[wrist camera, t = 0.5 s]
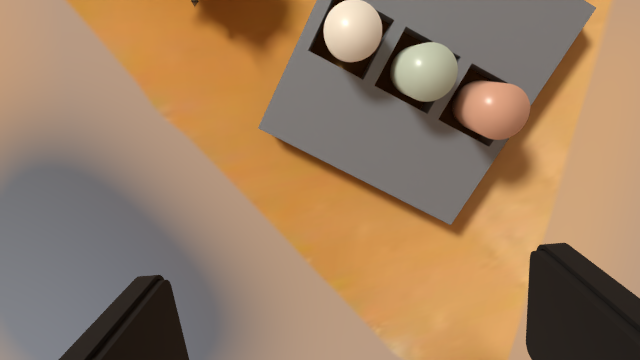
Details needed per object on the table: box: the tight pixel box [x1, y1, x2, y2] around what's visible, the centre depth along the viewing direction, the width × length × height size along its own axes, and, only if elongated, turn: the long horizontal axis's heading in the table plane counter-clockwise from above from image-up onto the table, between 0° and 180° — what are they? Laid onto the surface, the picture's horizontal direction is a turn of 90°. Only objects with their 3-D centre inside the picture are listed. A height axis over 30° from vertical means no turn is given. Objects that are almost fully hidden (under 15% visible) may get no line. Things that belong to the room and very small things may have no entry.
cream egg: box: [324, 0, 382, 62], centre depth 29 cm, size 4×4×5 cm
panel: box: [258, 0, 596, 225], centre depth 32 cm, size 20×19×3 cm
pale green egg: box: [390, 42, 458, 102], centre depth 29 cm, size 4×4×5 cm
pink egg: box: [452, 80, 530, 140], centre depth 30 cm, size 4×4×5 cm
